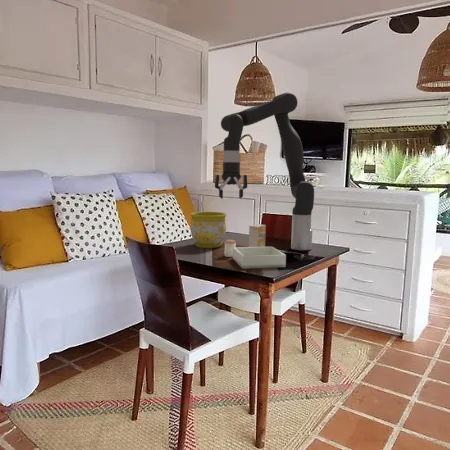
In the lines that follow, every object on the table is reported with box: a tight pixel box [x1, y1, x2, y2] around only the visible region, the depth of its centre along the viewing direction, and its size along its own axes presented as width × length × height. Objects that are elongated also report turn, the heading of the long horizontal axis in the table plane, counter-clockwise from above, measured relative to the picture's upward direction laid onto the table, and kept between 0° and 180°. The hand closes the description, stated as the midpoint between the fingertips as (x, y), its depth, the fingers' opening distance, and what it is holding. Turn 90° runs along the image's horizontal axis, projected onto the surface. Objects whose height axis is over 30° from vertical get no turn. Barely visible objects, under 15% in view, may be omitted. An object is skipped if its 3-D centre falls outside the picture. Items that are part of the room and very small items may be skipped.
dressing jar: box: [224, 239, 237, 258], centre depth 193 cm, size 5×5×7 cm
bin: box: [232, 246, 287, 270], centre depth 180 cm, size 18×18×5 cm
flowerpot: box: [190, 211, 227, 249], centre depth 215 cm, size 18×18×16 cm
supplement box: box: [248, 223, 267, 247], centre depth 200 cm, size 8×5×13 cm, turn 148°
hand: (230, 198), depth 189 cm, fingers open, 8 cm apart
